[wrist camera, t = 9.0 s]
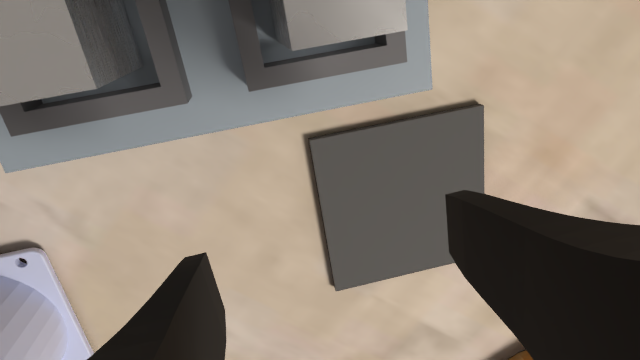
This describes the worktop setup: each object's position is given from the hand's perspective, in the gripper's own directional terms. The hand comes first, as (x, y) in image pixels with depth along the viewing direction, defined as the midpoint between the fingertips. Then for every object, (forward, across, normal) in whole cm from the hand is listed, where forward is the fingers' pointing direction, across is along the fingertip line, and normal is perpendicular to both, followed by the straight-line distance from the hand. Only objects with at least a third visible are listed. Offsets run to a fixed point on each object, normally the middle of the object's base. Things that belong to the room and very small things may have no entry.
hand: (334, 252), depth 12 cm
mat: (+9, -5, +4) cm, 11 cm away
